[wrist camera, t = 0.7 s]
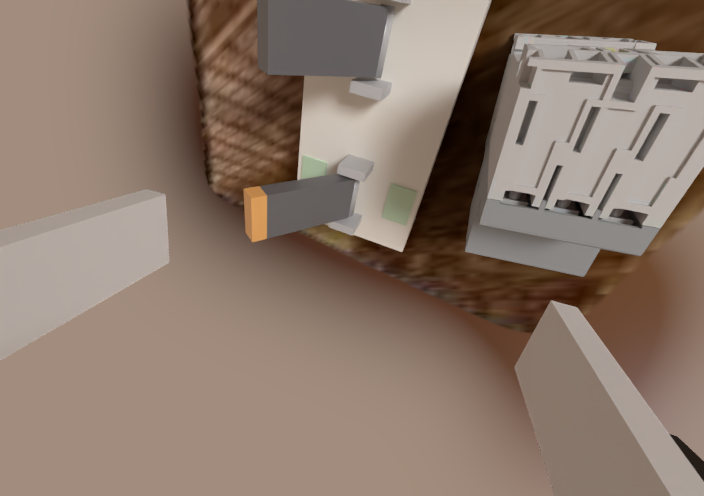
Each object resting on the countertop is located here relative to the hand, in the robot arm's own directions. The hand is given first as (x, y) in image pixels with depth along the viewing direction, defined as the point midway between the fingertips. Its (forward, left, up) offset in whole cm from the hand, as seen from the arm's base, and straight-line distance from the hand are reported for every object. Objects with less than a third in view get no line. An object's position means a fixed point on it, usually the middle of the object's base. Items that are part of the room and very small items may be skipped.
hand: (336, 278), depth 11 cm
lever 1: (-5, -5, -18) cm, 19 cm away
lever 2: (+7, -5, -18) cm, 20 cm away
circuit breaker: (0, +9, -24) cm, 25 cm away
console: (+1, -5, -24) cm, 24 cm away
